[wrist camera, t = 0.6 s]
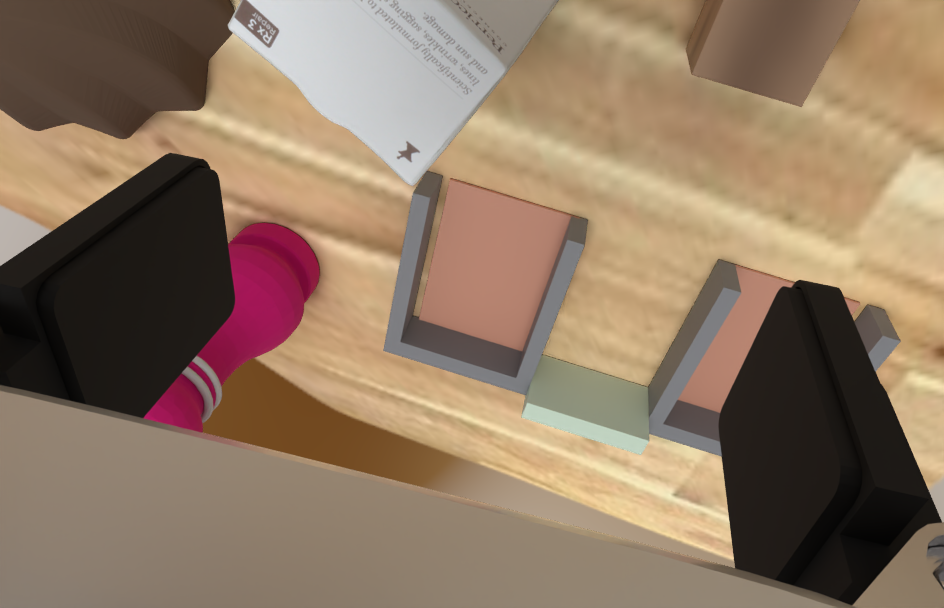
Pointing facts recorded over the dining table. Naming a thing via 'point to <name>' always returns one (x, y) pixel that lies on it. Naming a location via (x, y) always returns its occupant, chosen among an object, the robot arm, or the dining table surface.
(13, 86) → the decorative dome
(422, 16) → the skincare box
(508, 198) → the bay rack
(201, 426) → the pepper mill
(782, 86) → the walnut block
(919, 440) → the dining table surface
